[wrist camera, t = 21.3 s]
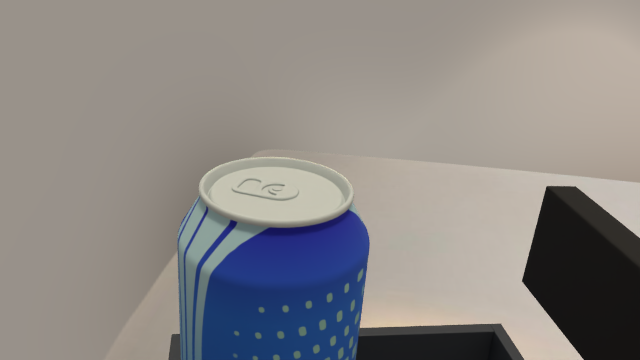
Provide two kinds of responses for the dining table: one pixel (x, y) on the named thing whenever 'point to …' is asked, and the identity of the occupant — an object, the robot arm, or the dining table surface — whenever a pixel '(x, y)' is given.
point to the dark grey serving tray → (424, 343)
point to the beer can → (271, 264)
